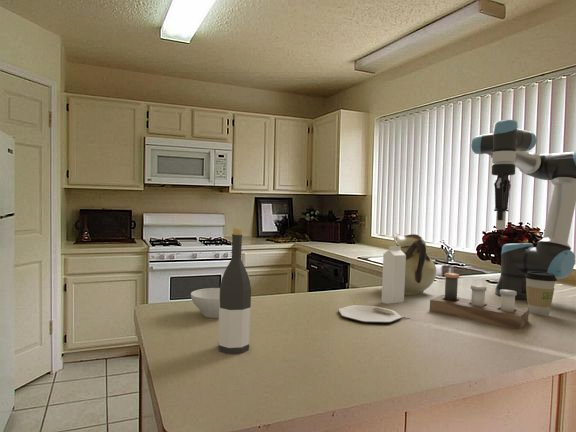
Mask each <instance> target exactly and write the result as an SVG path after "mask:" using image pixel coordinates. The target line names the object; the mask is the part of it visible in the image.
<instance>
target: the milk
mask: <svg viewBox="0 0 576 432" xmlns="http://www.w3.org/2000/svg"><path fill="white" fill-rule="evenodd" d="M382 259H383V261H382V276H381V278H382V280H381V285H382V286H381V303H383V304H386V305H389V304H397V303H404V302H405V295H404V288H405V265H406V255H405V254H404V253H403V252H402V251H401V246H397V245H391V246H389V247H388V250H387V251H386V252H384V253H383V256H382Z"/></svg>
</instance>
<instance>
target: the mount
mask: <svg viewBox="0 0 576 432" xmlns="http://www.w3.org/2000/svg"><path fill="white" fill-rule="evenodd" d="M471 299H472V298H465V297H459V296H457V301H449V300H445V294H441V295H438V296H435V297H433V298H431V299H430V300H429V312H432V313H439V314H442V315H448V316H451V317H457V318H461V319H467V320H471V321H477V322H481V323H485V324H486V323H487V324H490V325H497V326H500V327H505V328H510V329H516V330H521V329H522V328H523V327H524V326H525V325H526V324H527V323H529V309H527V308H523V307H522V308H521V307H516V306H515V307H514V312H508V311H503V310H500V304H501V303H493V302H486V301H484V307H481V306H475V305H471Z"/></svg>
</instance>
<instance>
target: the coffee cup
mask: <svg viewBox="0 0 576 432" xmlns="http://www.w3.org/2000/svg"><path fill="white" fill-rule="evenodd" d="M525 278H526V292H527V299H526V302H527V308H528V309H529V313H530V314H534V315H540V316H546V317H549V316H550V312H551V307H552V302H553V297H554V292H555V286H556V285H555V284H556V282H557V279H558V278H555V274H552V273H546V272H537V271H528V272H527V274H526V275H525Z"/></svg>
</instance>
